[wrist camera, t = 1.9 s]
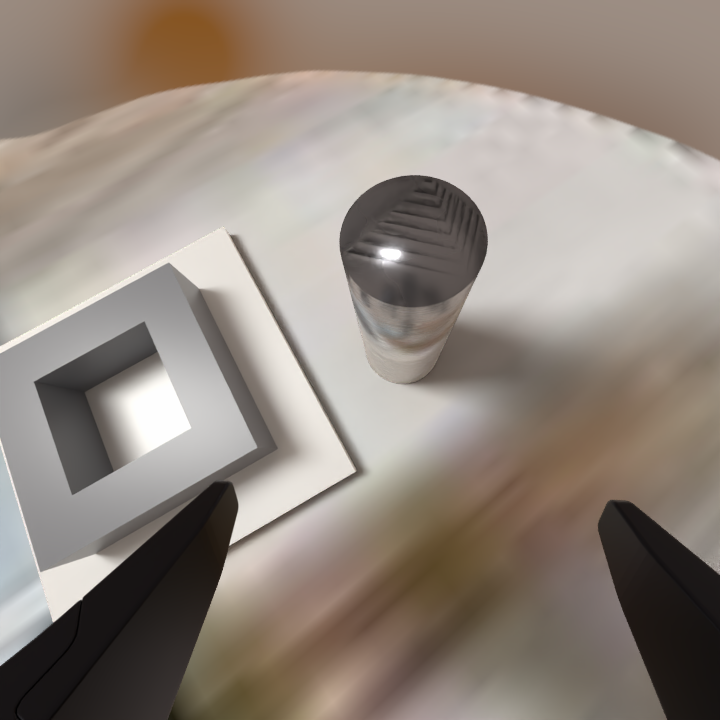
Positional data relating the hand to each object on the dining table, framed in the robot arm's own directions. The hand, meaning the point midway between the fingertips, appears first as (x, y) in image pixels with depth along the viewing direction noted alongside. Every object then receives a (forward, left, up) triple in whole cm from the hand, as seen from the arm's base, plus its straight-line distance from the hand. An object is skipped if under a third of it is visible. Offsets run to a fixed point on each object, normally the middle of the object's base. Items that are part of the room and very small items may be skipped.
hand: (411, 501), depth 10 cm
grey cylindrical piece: (+6, -4, -13) cm, 15 cm away
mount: (+10, +11, -13) cm, 20 cm away
